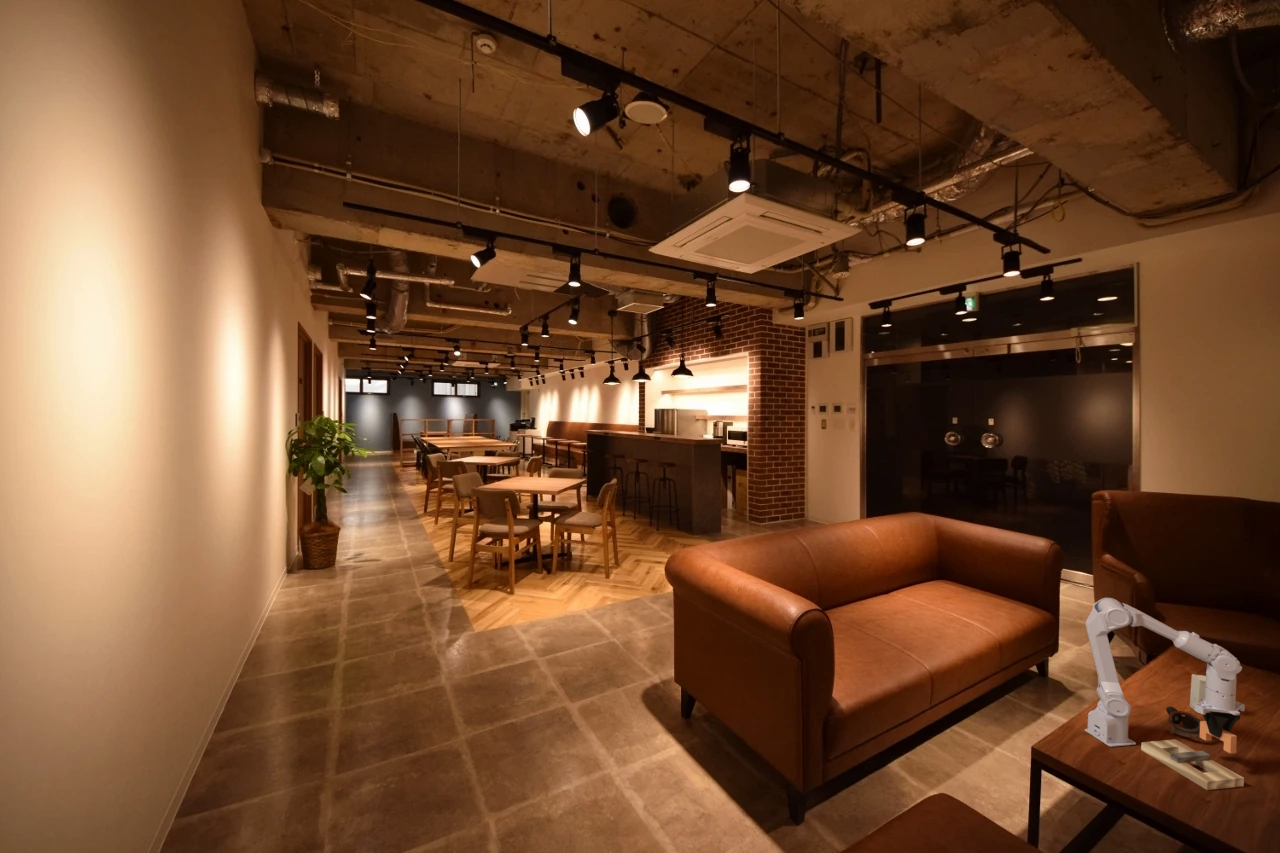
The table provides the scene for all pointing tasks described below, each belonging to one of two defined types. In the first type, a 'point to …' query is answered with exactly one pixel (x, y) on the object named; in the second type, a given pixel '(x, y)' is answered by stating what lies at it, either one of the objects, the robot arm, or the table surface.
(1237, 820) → the table surface
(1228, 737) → the orange hook block
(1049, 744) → the table surface
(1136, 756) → the table surface
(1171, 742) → the light wood flat frame
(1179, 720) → the pottery mug
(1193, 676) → the skincare box
